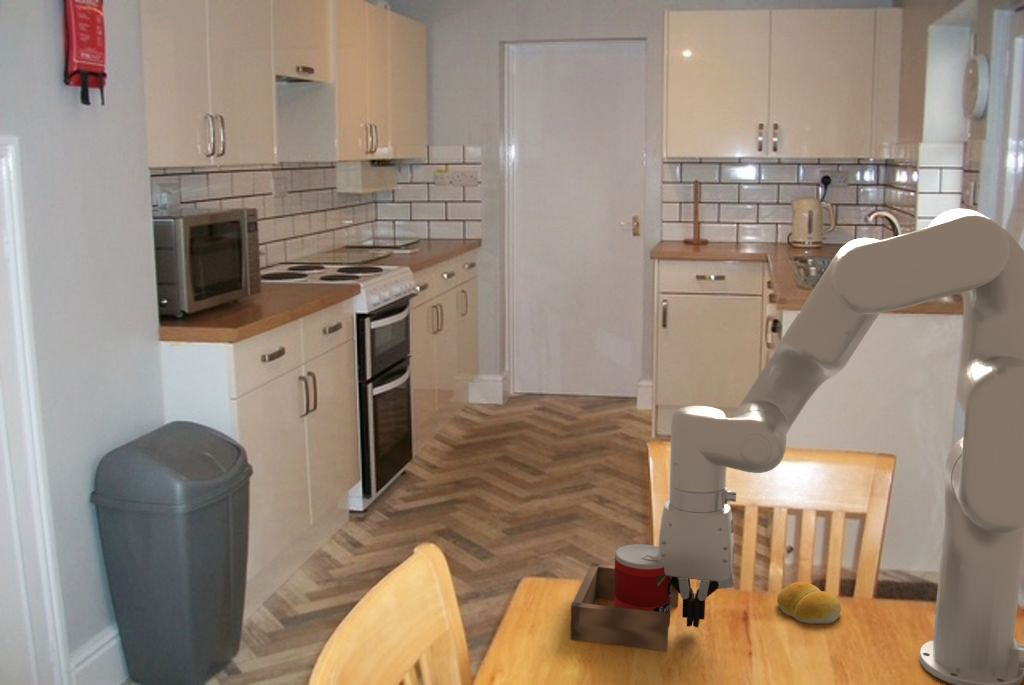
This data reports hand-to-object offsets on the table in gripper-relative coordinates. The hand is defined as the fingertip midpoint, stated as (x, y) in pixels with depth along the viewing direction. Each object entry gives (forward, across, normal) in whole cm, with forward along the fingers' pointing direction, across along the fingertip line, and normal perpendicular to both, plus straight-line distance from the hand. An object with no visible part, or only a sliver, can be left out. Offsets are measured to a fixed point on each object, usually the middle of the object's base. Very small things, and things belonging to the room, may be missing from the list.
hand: (693, 622), depth 147 cm
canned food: (+2, +7, 0) cm, 7 cm away
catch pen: (+2, +9, -2) cm, 9 cm away
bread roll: (+2, -16, -12) cm, 20 cm away
